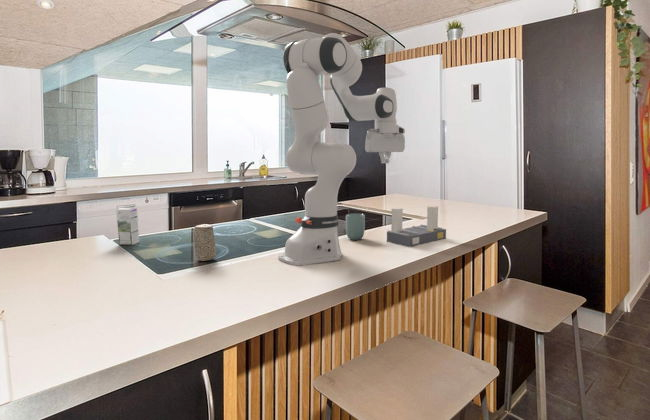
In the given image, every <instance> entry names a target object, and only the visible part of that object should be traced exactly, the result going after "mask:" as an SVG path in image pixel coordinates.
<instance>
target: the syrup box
mask: <svg viewBox="0 0 650 420" xmlns="http://www.w3.org/2000/svg"><path fill="white" fill-rule="evenodd" d="M115 209H116V210H115V212H116V220H117V221H116V223H117V232H118V245H121V246H122V245H123V246H133V245H136V244H138V243H140V233H139V231H140V230H139V218H138V207H137V206H136V207H135V206H134V207H130V206H129V207H127V206H125V207H124V206H123V207H119V208H115Z"/></svg>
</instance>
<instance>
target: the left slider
mask: <svg viewBox="0 0 650 420" xmlns="http://www.w3.org/2000/svg"><path fill="white" fill-rule="evenodd" d="M390 224H391V225H390V226H391V228H390V231H394V232H400V231H402V229H403V208H400V207H393V208H391V223H390Z"/></svg>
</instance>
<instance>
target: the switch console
mask: <svg viewBox="0 0 650 420" xmlns="http://www.w3.org/2000/svg"><path fill="white" fill-rule="evenodd" d="M446 239H447V229H446V228H442V227H438V228H437V229H428V228H427V224H420V225H416V226H415V225H412V226H411V227H407V228H405V227H404V228H402V231H400V232H394V231H391V230H387V231H386V243H391V244H395V245H400V246H404V247H409V248H412V247H417V246H419V245H420V246H421V245H425V244H430V243H434V242H438V240H439V241H441V240H442V241H443V240H446Z"/></svg>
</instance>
